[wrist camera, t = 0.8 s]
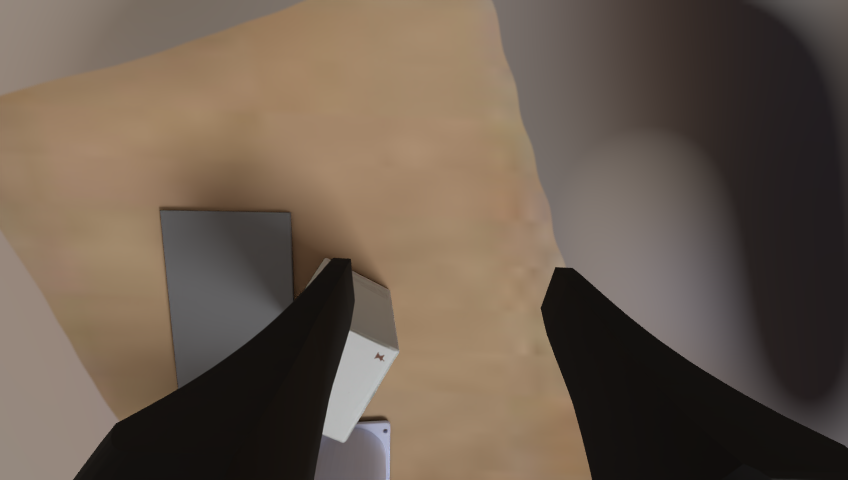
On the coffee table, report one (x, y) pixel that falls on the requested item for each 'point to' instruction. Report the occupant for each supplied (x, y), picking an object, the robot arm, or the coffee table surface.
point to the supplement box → (361, 356)
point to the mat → (223, 281)
